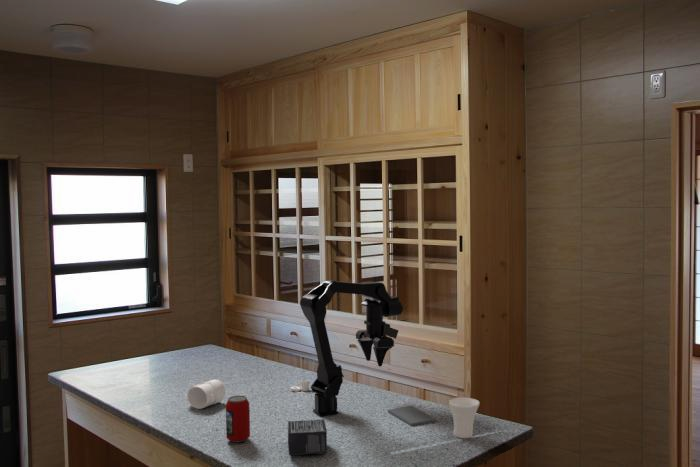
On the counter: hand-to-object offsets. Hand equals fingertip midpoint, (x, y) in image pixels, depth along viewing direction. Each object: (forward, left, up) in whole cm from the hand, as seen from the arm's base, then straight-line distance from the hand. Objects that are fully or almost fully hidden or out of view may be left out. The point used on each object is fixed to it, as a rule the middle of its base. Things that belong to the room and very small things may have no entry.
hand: (374, 363), depth 221 cm
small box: (-32, -33, -10) cm, 47 cm away
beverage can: (-52, -15, -13) cm, 56 cm away
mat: (+2, -21, -13) cm, 25 cm away
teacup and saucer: (-18, +26, -14) cm, 34 cm away
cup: (+8, -42, -13) cm, 45 cm away
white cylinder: (-54, +23, -13) cm, 60 cm away
